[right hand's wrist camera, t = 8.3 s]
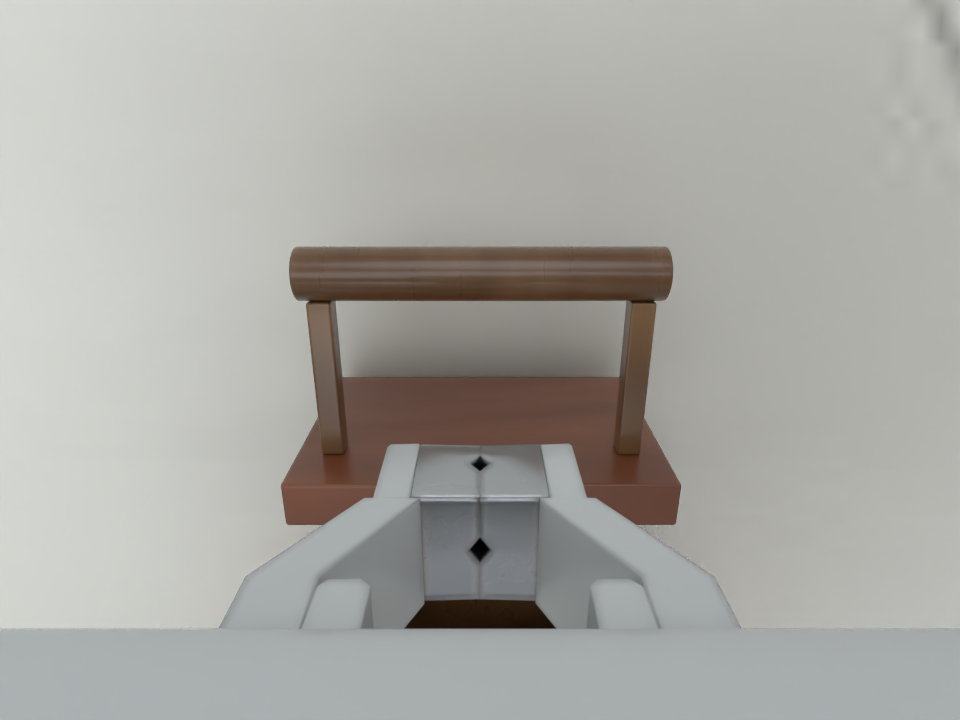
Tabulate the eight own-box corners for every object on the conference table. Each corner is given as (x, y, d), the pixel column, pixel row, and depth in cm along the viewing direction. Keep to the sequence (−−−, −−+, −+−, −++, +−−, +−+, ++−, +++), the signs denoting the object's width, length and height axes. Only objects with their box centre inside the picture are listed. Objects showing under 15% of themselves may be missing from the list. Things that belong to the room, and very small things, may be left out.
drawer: (324, 215, 19) (247, 263, 13) (637, 215, 19) (714, 262, 13) (369, 704, 27) (336, 881, 20) (591, 703, 27) (625, 881, 20)
